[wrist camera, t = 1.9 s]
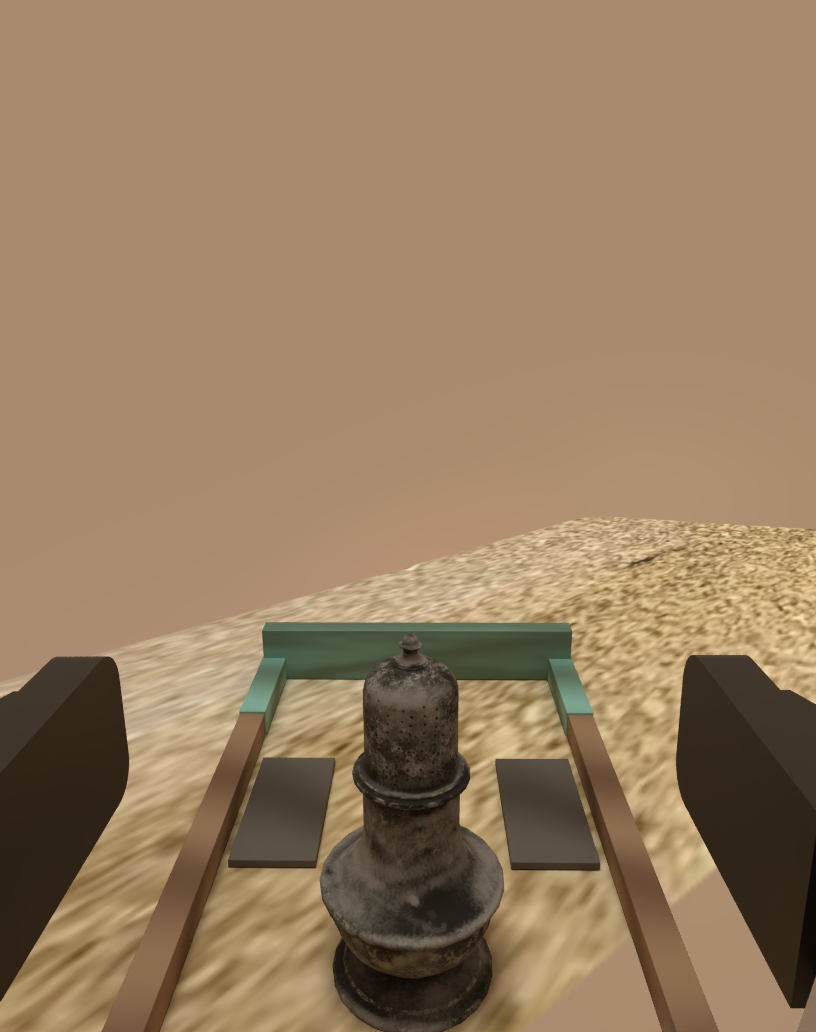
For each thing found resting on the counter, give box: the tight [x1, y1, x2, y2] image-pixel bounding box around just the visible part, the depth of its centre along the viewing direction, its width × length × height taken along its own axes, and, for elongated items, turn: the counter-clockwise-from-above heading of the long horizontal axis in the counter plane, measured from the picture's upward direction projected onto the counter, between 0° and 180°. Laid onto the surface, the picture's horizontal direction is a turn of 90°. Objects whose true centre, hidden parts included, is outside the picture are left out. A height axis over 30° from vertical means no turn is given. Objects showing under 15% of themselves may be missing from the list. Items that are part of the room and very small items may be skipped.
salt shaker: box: [320, 631, 504, 1032], centre depth 24 cm, size 6×6×12 cm
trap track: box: [102, 622, 719, 1032], centre depth 33 cm, size 26×18×3 cm
